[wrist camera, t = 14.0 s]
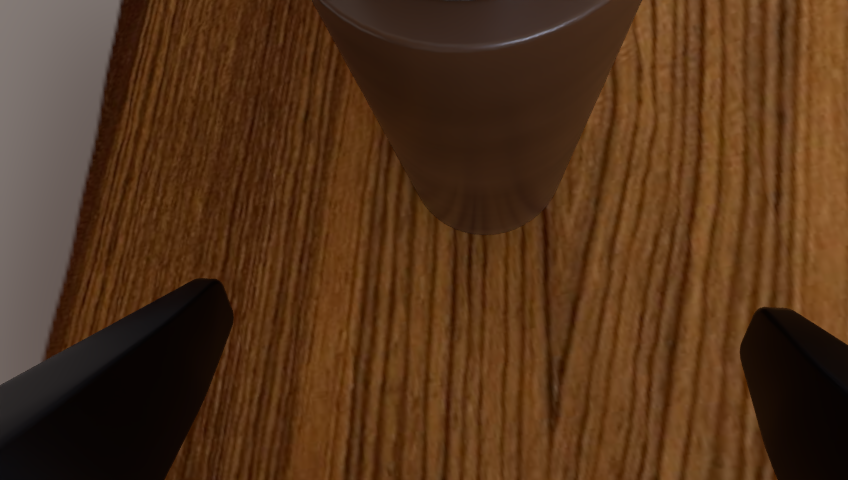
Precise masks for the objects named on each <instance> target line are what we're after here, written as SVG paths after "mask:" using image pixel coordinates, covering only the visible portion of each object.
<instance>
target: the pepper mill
mask: <svg viewBox="0 0 848 480" xmlns="http://www.w3.org/2000/svg"><path fill="white" fill-rule="evenodd" d="M641 1H642V0H312V2H313V4H314V6H315V7H316V9H317V11H318V13H319V15H320V16H321V18H322V20H323V22H324V24H325V26H326V27H327V29H328V31H329V33H330V35H331V36H332V38H333V40H334V42H335V44H336V46H337V47H338V49H339V51H340V53H341V55H342V57H343V58H344V60H345V62H346V64H347V66H348V67H349V69H350V71H351V73H352V75H353V77H354V78H355V80H356V82H357V84H358V86H359V87H360V89H361V91H362V93H363V95H364V97H365V98H366V100H367V102H368V104H369V106H370V107H371V109H372V111H373V113H374V115H375V117H376V118H377V120H378V122H379V124H380V126H381V127H382V129H383V131H384V133H385V135H386V137H387V138H388V140H389V142H390V144H391V146H392V148H393V149H394V151H395V153H396V155H397V157H398V158H399V160H400V162H401V164H402V166H403V168H404V169H405V171H406V173H407V175H408V177H409V178H410V180H411V182H412V184H413V186H414V188H415V189H416V191H417V193H418V195H419V197H420V198H421V200H422V201H423V203H424V205H425V206H426V207H427V208H428V209H429V211H430V212H431V213H432V214H433V215H434V216H436V217H437V218H438V219H439V220H441V221H442V222H443V223H445V224H446V225H448V226H450V227H452V228H454V229H457V230H460V231H463V232H467V233H472V234H480V235H490V234H499V233H504V232H507V231H511V230H514V229H516V228H518V227H520V226H522V225H524V224H526V223H527V222H529V221H531V220H532V219H533V218H535V217H536V216H537V215H538V214H539V213H540V212H541V211H542V210H543V209H544V208H545V207H546V206H547V205H548V203H549V202H550V200H551V199H552V197H553V195H554V193H555V191H556V190H557V187H558V185H559V183H560V181H561V179H562V176H563V174H564V172H565V170H566V167H567V165H568V163H569V161H570V159H571V156H572V154H573V152H574V150H575V147H576V145H577V143H578V141H579V139H580V136H581V134H582V132H583V130H584V128H585V125H586V123H587V121H588V119H589V116H590V114H591V112H592V110H593V108H594V105H595V103H596V101H597V99H598V97H599V94H600V92H601V90H602V88H603V85H604V83H605V81H606V79H607V77H608V74H609V72H610V70H611V68H612V65H613V63H614V61H615V59H616V57H617V54H618V52H619V50H620V48H621V46H622V43H623V41H624V39H625V37H626V34H627V32H628V30H629V28H630V26H631V23H632V21H633V19H634V17H635V14H636V12H637V10H638V8H639V6H640V3H641Z"/></svg>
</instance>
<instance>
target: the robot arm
mask: <svg viewBox="0 0 848 480" xmlns="http://www.w3.org/2000/svg"><path fill="white" fill-rule="evenodd" d="M233 320H234V316H233V310H232V308H231V305H230V302H229V300H228V297H227V294H226V291H225V289H224V286H223V284H222V283H221V282H220V281H219V280H217V279H207V278H198V279H194V280H192V281H191V282H189V283H187V284H185V285H183V286H181V287H179V288H178V289H176V290H174V291H172V292H170V293H168V294H167V295H165V296H163V297H161V298H159V299H157V300H156V301H154V302H152V303H150V304H148V305H146V306H145V307H143V308H141V309H139V310H137V311H135V312H134V313H132V314H130V315H128V316H126V317H124V318H123V319H121V320H119V321H117V322H115V323H113V324H112V325H110V326H108V327H106V328H104V329H102V330H100V331H99V332H97V333H95V334H93V335H91V336H89V337H88V338H86V339H84V340H82V341H80V342H78V343H77V344H75V345H73V346H71V347H69V348H67V349H66V350H64V351H62V352H60V353H58V354H56V355H55V356H53V357H51V358H49V359H47V360H45V361H44V362H42V363H40V364H38V365H36V366H34V367H32V368H31V369H29V370H27V371H25V372H23V373H21V374H20V375H18V376H16V377H14V378H13V379H11V380H9V381H7V382H5V383H3V384H1V385H0V480H165V478H166V476H167V474H168V472H169V470H170V468H171V466H172V464H173V462H174V460H175V458H176V456H177V454H178V452H179V450H180V448H181V446H182V444H183V442H184V440H185V438H186V436H187V434H188V432H189V430H190V428H191V426H192V424H193V422H194V420H195V418H196V416H197V414H198V412H199V409H200V407H201V405H202V403H203V401H204V399H205V396H206V394H207V392H208V389H209V387H210V384H211V381H212V379H213V376H214V373H215V371H216V368H217V365H218V363H219V360H220V357H221V355H222V352H223V349H224V347H225V344H226V341H227V339H228V336H229V334H230V331H231V328H232V325H233ZM740 358H741V362H742V366H743V370H744V373H745V377H746V380H747V384H748V388H749V391H750V395H751V399H752V402H753V406H754V410H755V413H756V417H757V420H758V424H759V428H760V431H761V435H762V438H763V441H764V445H765V448H766V451H767V453H768V456H769V459H770V461H771V464H772V467H773V469H774V472H775V474H776V477H777V479H778V480H848V345H847V344H845V343H844V342H842V341H840V340H839V339H837V338H836V337H834V336H833V335H831V334H829V333H828V332H826V331H825V330H823V329H822V328H820V327H818V326H817V325H815V324H814V323H812V322H811V321H809V320H807V319H806V318H804V317H803V316H801V315H800V314H798V313H796V312H795V311H793V310H791V309H788V308H774V307H762V308H759V309H758V310H757V311H756V312H755V313H754V315H753V317H752V320H751V322H750V324H749V326H748V329H747V331H746V333H745V336H744V338H743V340H742V343H741V346H740Z"/></svg>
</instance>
